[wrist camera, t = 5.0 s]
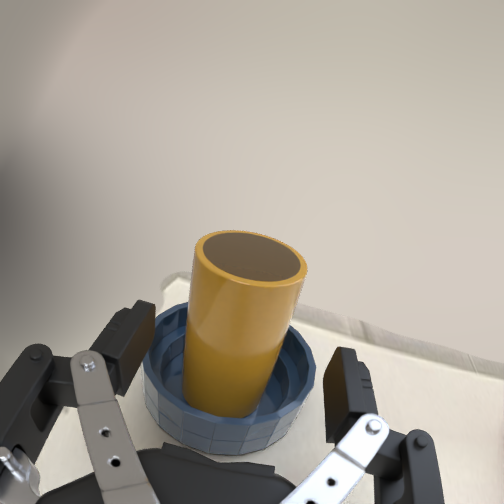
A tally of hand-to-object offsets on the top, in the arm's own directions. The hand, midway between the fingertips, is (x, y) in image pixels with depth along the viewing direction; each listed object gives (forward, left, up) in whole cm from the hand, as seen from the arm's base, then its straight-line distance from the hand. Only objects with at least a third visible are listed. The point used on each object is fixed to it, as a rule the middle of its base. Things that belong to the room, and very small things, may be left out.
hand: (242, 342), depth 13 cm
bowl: (0, +5, -10) cm, 11 cm away
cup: (0, +5, -9) cm, 10 cm away
